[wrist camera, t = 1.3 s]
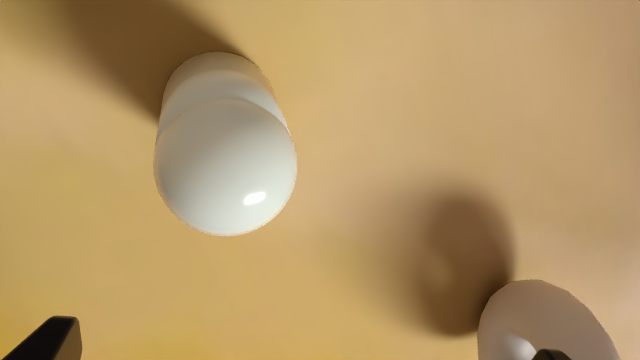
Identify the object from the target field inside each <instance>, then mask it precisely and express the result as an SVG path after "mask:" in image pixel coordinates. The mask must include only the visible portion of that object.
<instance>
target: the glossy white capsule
mask: <svg viewBox="0 0 640 360" xmlns="http://www.w3.org/2000/svg"><path fill="white" fill-rule="evenodd" d="M153 171H154V178H155V182H156V186H157V189H158V192H159V194H160V196H161V198H162V200H163V201H164V203H165V204H166V206H167V207H168V209H169V210H170V211H171V212H172V213H173V214H174V215H175V216H176V217H177V218H178V219H179V220H180V221H182V222H183V223H185V224H186V225H188V226H189V227H191V228H193V229H195V230H198V231H200V232H203V233H207V234H210V235H216V236H235V235H241V234H245V233H249V232H251V231H254V230H256V229H258V228H260V227H262V226H263V225H265V224H267V223H268V222H270V221H271V220H272V219H273V218H274V217H276V216H277V214H278V213H279V212H280V211H281V210H282V209H283V207H284V206H285V205H286V203H287V201H288V200H289V198H290V196H291V194H292V191H293V189H294V186H295V182H296V178H297V155H296V150H295V146H294V143H293V140H292V137H291V135H290V132H289V130H288V127H287V125H286V122H285V120H284V117H283V115H282V112H281V110H280V107H279V105H278V102H277V100H276V97H275V95H274V92H273V90H272V87H271V85H270V83H269V81H268V79H267V77H266V76H265V74H264V73H263V72H262V71H261V70H260V69H259V68H258V67H257V66H256V65H255V64H254V63H252V62H251V61H249V60H248V59H246V58H244V57H241V56H239V55H236V54H233V53H228V52H208V53H203V54H199V55H197V56H194V57H192V58H190V59H188V60H187V61H185V62H184V63H182V64H181V65H180V66H179V67H178V68H177V69H176V70H175V71H174V72H173V74H172V75H171V76H170V78H169V80H168V82H167V84H166V87H165V90H164V95H163V101H162V107H161V113H160V119H159V125H158V132H157V138H156V144H155V150H154V159H153Z"/></svg>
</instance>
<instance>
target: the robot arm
mask: <svg viewBox="0 0 640 360" xmlns="http://www.w3.org/2000/svg"><path fill="white" fill-rule="evenodd" d="M81 354H82V341H81V333H80V326H79V321H78V319H77V318H76V317H71V316H53V317H50V318H49V319H48V320H46V321H45V322H44V323H43V324H42V325H41V326H40V327H38V328H37V329H36V330H35V331H34V332H33V333H32V334H30V335H29V336H28V337H27V338H26V339H25V340H24V341H22V342H21V343H20V344H19V345H18V346H17V347H16V348H14V349H13V350H12V351H11V352H10V353H9V354H8V355H6V356H5V357H4V358H3V359H2V360H80V358H81ZM532 360H572V359H571V358H570V357H568V356H567V355H566V354H565V353H564V352H562V351H560V350H557V349H546V348H543V349H540V350H538V351H537V353H536V354H535V355H534V357H533V358H532Z"/></svg>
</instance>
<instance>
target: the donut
mask: <svg viewBox="0 0 640 360" xmlns="http://www.w3.org/2000/svg"><path fill="white" fill-rule="evenodd" d="M477 340H478V359H479V360H532V358H533V357H534V355H535V354H536V353H537V351H538V350H540V349H543V348H546V349H557V350H560V351H562V352H564V353H565V354H566V355H567V356H568V357H570V358H571V359H572V360H621V359H620V357H619V355H618V353H617V351H616V349H615V347H614V345H613V342H612V340H611V338H610V336H609V335H608V334H607V332H606V331H605V330H604V328H603V327H602V326H601V324H600V323H599V322H598V320H597V319H596V318H595V316H594V315H593V313H592V312H591V311H590V310H589V309H588V308H587V307H586V306H585V305H584V304H582V303H581V302H580V301H579V300H578V299H576V298H575V297H574V296H573V295H572V294H570V293H569V292H568V291H566V290H564V289H561V288H559V287H557V286H554V285H552V284H549V283H547V282H544V281H542V280H520V281H514V282H510V283H508V284H506V285H505V286H504V287H502V288H501V289H500V290H498V291H497V292H496V293H494V294H493V295H492V296H491V297H490V299H489V301H488V303H487V305H486V307H485V308H484V310H483V312H482V314H481V317H480V323H479V328H478V333H477Z"/></svg>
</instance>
